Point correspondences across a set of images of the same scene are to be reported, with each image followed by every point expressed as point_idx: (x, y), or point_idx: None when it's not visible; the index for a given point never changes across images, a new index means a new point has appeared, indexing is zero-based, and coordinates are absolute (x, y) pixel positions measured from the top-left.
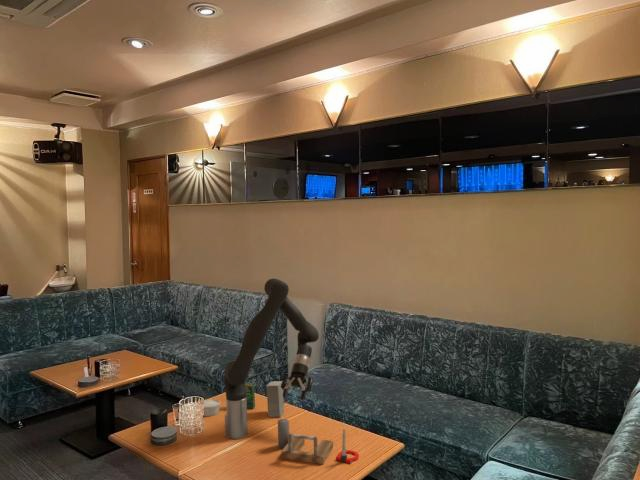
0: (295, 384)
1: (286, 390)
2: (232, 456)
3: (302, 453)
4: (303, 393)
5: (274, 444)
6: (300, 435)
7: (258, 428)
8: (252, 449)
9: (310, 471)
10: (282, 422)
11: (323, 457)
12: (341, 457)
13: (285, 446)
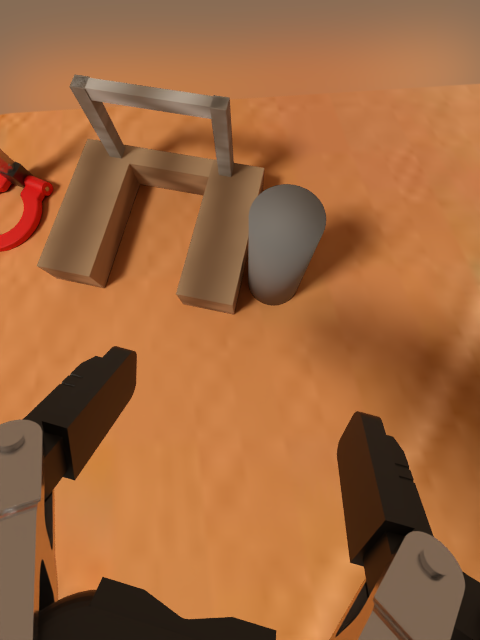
0: (186, 636)
1: (377, 517)
2: (465, 192)
3: (172, 157)
4: (67, 403)
5: (320, 296)
6: (159, 93)
7: (461, 474)
8: (404, 248)
9: (147, 119)
10: (288, 199)
11: (88, 141)
12: (23, 167)
13: None
